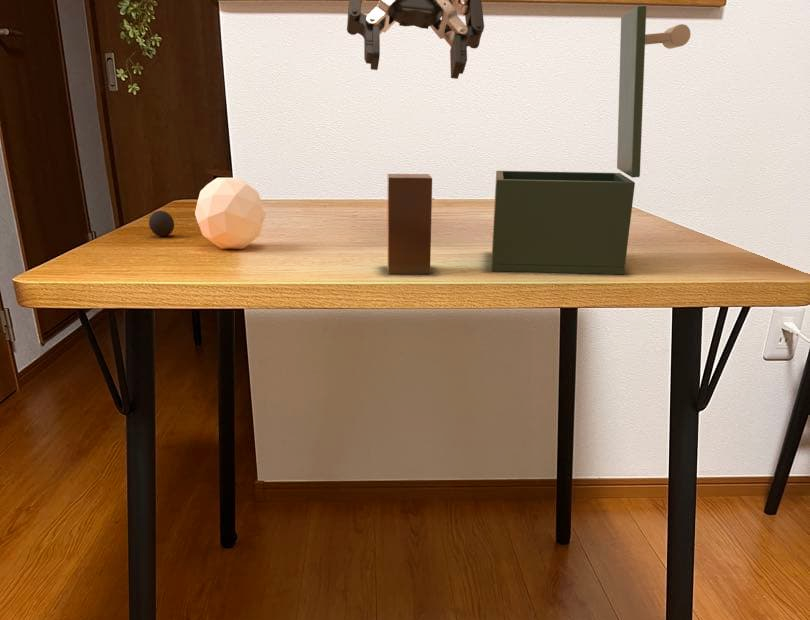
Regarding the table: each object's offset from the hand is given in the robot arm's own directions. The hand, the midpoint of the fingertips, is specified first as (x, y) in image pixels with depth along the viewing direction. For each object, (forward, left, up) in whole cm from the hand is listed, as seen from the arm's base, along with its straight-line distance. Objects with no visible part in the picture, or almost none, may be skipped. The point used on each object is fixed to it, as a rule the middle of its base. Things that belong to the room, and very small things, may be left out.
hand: (416, 68), depth 91 cm
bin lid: (-20, -7, -2) cm, 22 cm away
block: (-6, +9, -18) cm, 21 cm away
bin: (-15, -4, -18) cm, 24 cm away
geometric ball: (+19, +10, -19) cm, 28 cm away
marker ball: (+32, +9, -18) cm, 38 cm away
